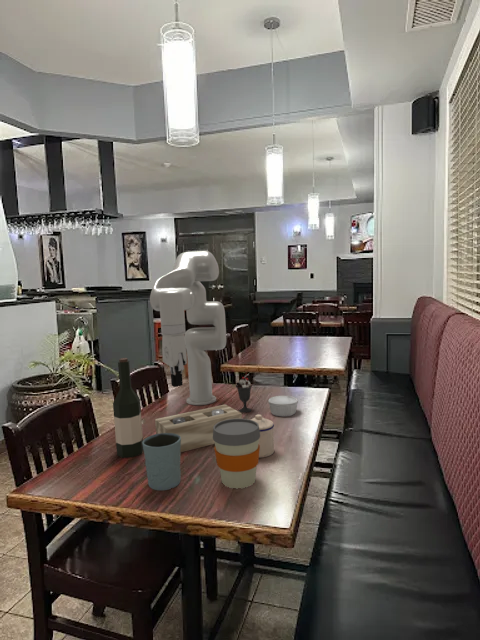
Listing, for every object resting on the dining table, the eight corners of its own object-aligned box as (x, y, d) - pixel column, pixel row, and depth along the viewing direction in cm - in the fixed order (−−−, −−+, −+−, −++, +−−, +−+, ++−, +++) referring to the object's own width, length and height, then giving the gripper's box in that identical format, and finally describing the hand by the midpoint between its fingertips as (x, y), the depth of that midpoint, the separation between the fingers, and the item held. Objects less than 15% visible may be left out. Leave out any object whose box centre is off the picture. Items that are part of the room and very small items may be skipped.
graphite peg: (172, 441, 146) (170, 418, 145) (183, 438, 148) (182, 416, 147) (176, 445, 143) (175, 422, 142) (188, 442, 144) (186, 419, 144)
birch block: (156, 442, 148) (155, 419, 147) (226, 426, 160) (225, 404, 159) (169, 455, 137) (167, 430, 136) (242, 436, 150) (241, 413, 149)
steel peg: (211, 431, 153) (209, 410, 152) (221, 429, 155) (220, 408, 154) (216, 435, 149) (215, 413, 148) (226, 432, 151) (225, 411, 150)
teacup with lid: (275, 446, 141) (274, 410, 139) (274, 458, 132) (273, 420, 130) (237, 445, 142) (235, 410, 141) (234, 458, 133) (232, 420, 132)
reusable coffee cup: (268, 487, 115) (266, 431, 113) (221, 496, 112) (218, 438, 110) (253, 466, 127) (251, 415, 125) (210, 474, 124) (207, 421, 122)
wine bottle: (148, 448, 143) (142, 356, 140) (134, 459, 135) (127, 362, 132) (126, 446, 146) (119, 355, 142) (111, 456, 138) (103, 361, 134)
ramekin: (304, 413, 170) (303, 399, 170) (281, 420, 164) (281, 406, 164) (285, 406, 180) (284, 393, 179) (263, 412, 174) (262, 399, 173)
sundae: (254, 407, 179) (252, 371, 178) (252, 413, 173) (251, 375, 171) (237, 407, 180) (236, 371, 178) (235, 413, 173) (234, 375, 172)
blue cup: (149, 495, 114) (146, 450, 112) (141, 478, 123) (138, 436, 121) (188, 485, 117) (185, 442, 116) (177, 470, 127) (175, 429, 125)
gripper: (154, 328, 146) (158, 382, 148) (170, 334, 133) (174, 393, 135) (176, 325, 149) (179, 378, 152) (193, 331, 136) (197, 389, 139)
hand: (177, 385), depth 144 cm, fingers closed
